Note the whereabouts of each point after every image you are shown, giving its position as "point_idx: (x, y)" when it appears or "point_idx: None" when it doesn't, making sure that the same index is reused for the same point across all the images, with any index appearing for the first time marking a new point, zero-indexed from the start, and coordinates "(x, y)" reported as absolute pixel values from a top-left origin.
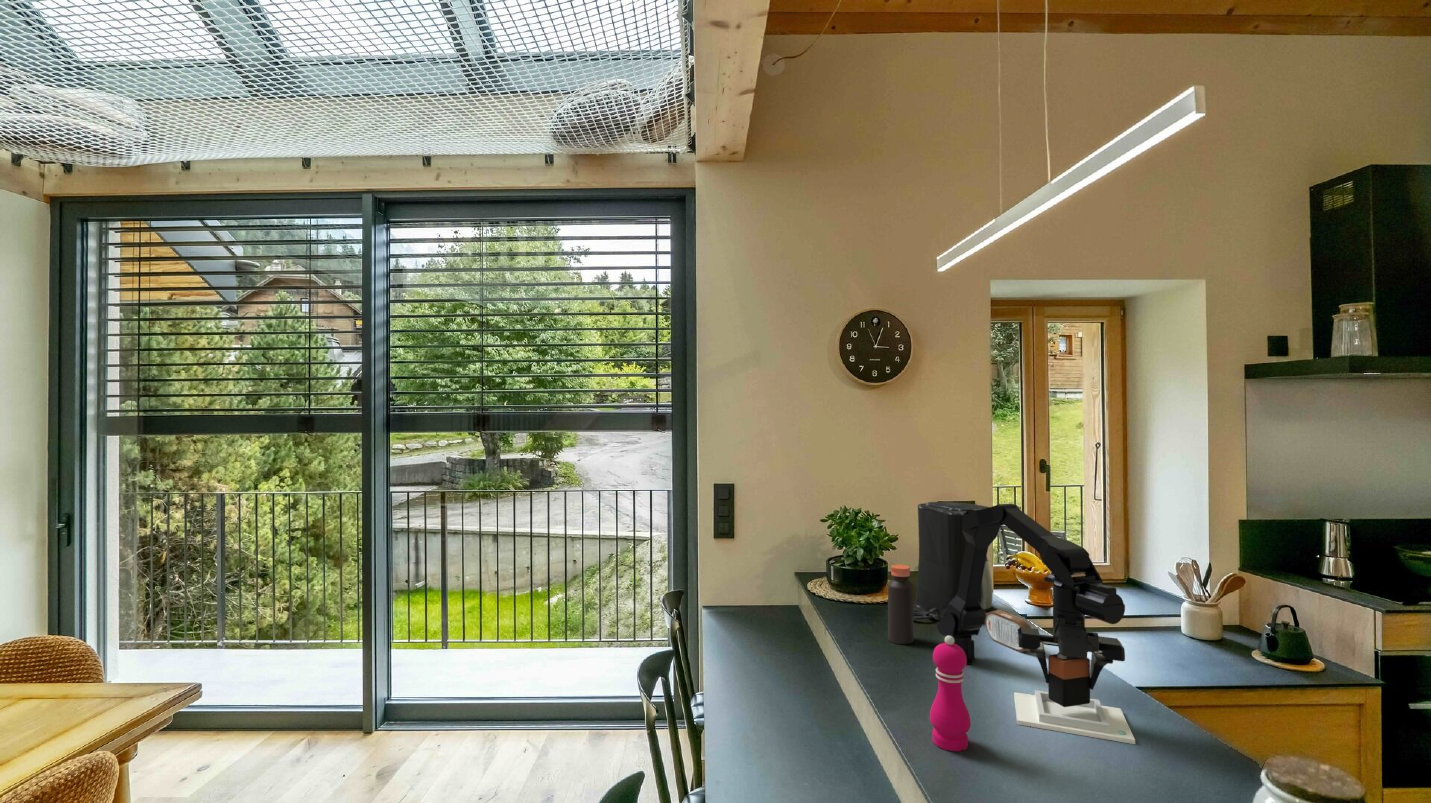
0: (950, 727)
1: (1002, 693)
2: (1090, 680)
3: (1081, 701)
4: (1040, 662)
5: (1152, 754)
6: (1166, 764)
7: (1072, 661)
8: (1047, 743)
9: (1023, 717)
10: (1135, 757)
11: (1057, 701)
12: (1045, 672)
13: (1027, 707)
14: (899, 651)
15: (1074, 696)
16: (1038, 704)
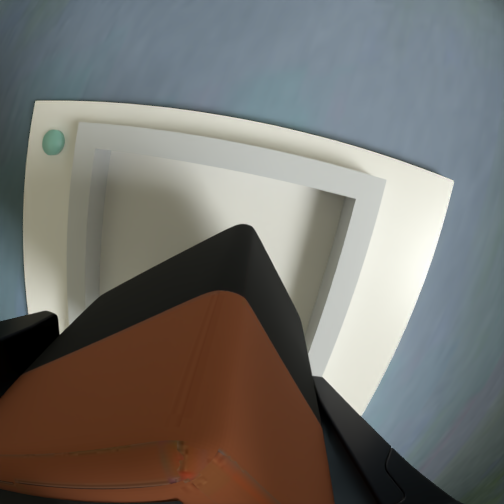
0: None
1: (385, 416)
2: (29, 350)
3: (136, 278)
4: (420, 476)
5: (30, 51)
6: (28, 8)
7: (49, 470)
8: (376, 28)
9: (423, 211)
10: (85, 6)
11: (272, 265)
12: (348, 420)
13: (369, 312)
14: (477, 499)
15: (167, 268)
16: (348, 292)
